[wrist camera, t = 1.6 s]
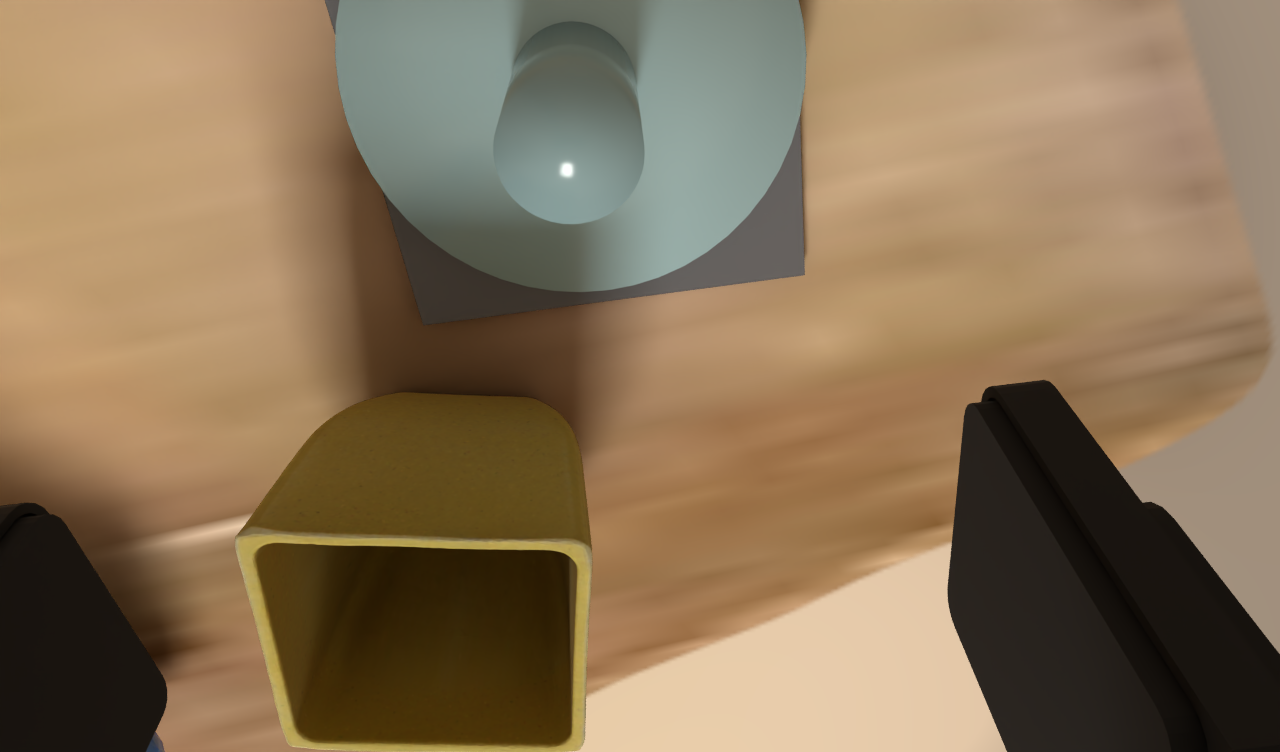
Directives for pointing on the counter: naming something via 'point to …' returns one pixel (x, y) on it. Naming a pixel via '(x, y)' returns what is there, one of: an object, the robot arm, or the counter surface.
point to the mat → (745, 255)
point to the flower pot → (427, 579)
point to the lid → (572, 126)
